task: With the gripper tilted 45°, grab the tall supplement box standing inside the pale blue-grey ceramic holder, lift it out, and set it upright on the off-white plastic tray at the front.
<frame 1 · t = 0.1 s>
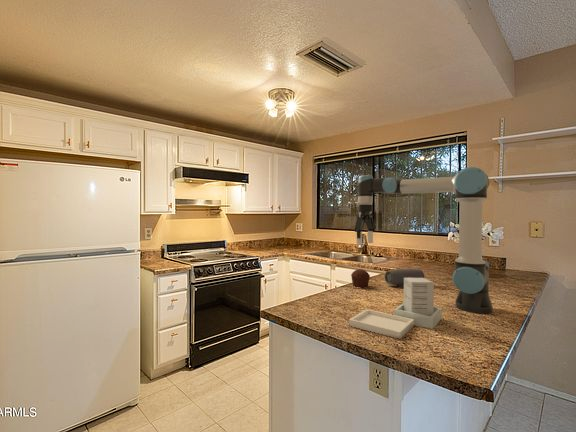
hand: (364, 243, 164), 28 cm above the worktop, tool pointing down, fingers open, 13 cm apart
holder: (417, 319, 129), on the worktop
muffin: (360, 286, 186), on the worktop
bluetooth speaker: (404, 285, 189), on the worktop
tray: (381, 325, 121), on the worktop
supplement box: (417, 319, 129), resting in holder
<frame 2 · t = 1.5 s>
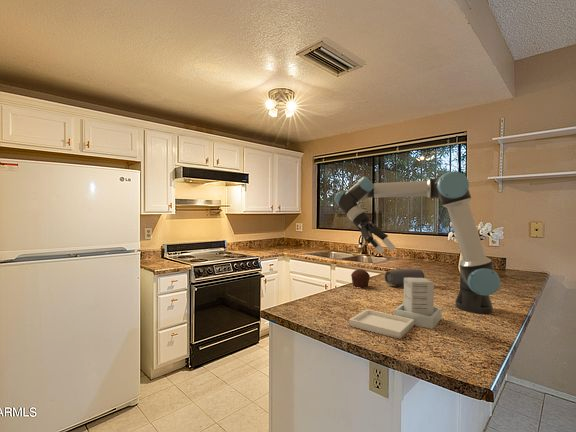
hand: (388, 250, 139), 28 cm above the worktop, tool tilted 45°, fingers open, 13 cm apart
nothing on the worktop moved.
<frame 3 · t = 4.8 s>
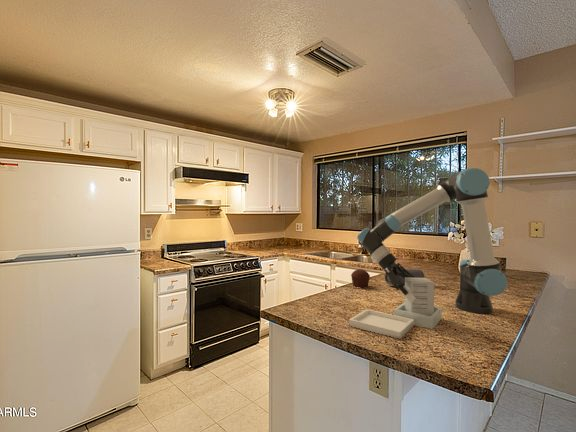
hand: (418, 297, 129), 9 cm above the worktop, tool tilted 45°, fingers open, 13 cm apart
supplement box: (418, 319, 129), resting in holder, touching gripper
everything else where it was.
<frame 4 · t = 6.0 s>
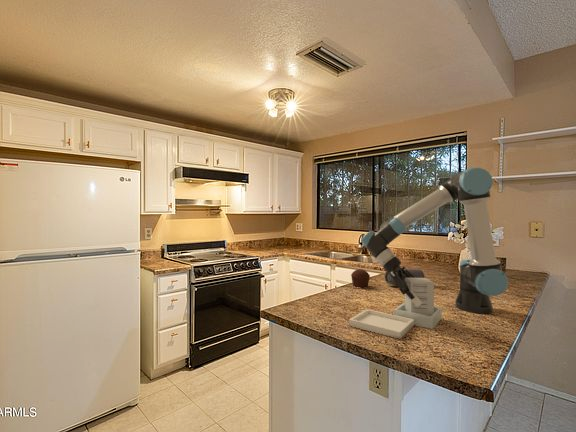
hand: (424, 301, 127), 8 cm above the worktop, tool tilted 45°, fingers closed on supplement box, 12 cm apart
supplement box: (418, 320, 129), resting in holder, touching gripper
everything else where it was.
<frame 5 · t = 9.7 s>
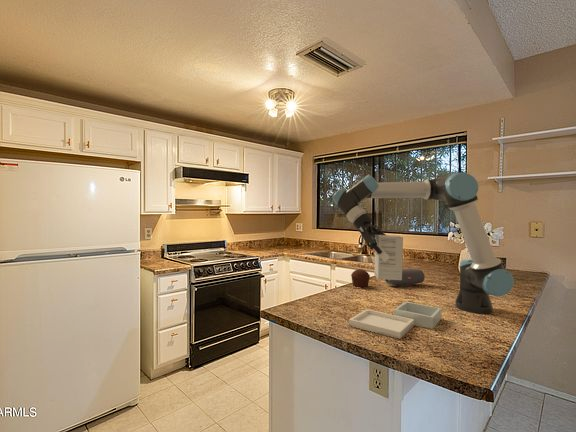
hand: (393, 258, 121), 27 cm above the worktop, tool tilted 45°, fingers closed on supplement box, 12 cm apart
supplement box: (387, 277, 123), point 19 cm above the worktop, touching gripper
everything else where it was.
when the fingers open (10 cm above the worktop, at t = 13.6 s): supplement box drops 1 cm, resting on tray.
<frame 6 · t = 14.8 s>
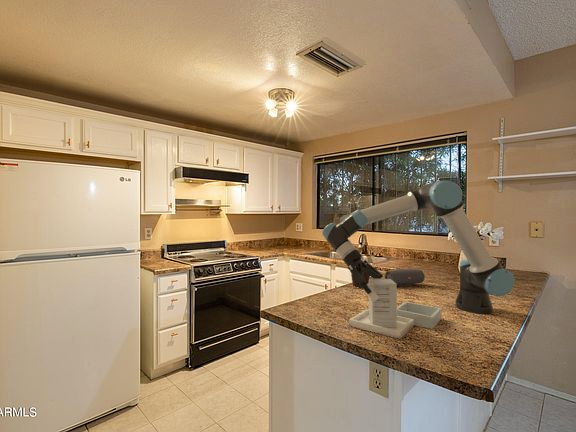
hand: (383, 296, 120), 12 cm above the worktop, tool tilted 45°, fingers open, 13 cm apart
supplement box: (382, 323, 121), point 1 cm above the worktop, touching gripper, tray
everything else where it was.
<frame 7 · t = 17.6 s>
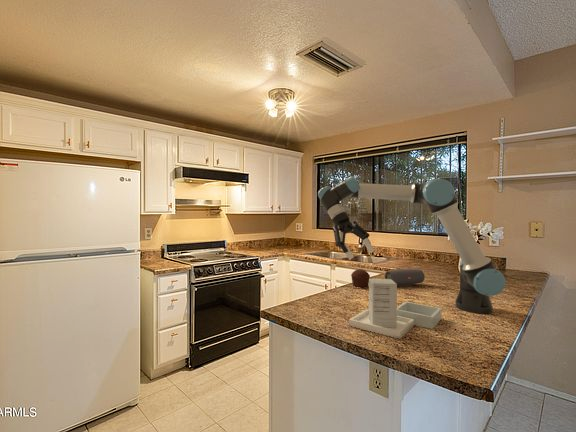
hand: (362, 254, 136), 26 cm above the worktop, tool tilted 35°, fingers open, 13 cm apart
supplement box: (382, 323, 121), point 1 cm above the worktop, touching tray
everything else where it was.
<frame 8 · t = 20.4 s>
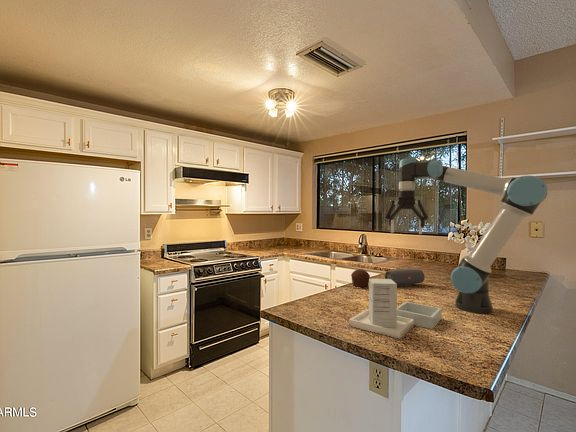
hand: (406, 233, 152), 35 cm above the worktop, tool pointing down, fingers open, 13 cm apart
nothing on the worktop moved.
at the end: supplement box inside the target area on the tray (0.1 cm from its centre), point 0.8 cm above the tray's base; supplement box tilted 0°; the gripper is holding nothing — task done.
